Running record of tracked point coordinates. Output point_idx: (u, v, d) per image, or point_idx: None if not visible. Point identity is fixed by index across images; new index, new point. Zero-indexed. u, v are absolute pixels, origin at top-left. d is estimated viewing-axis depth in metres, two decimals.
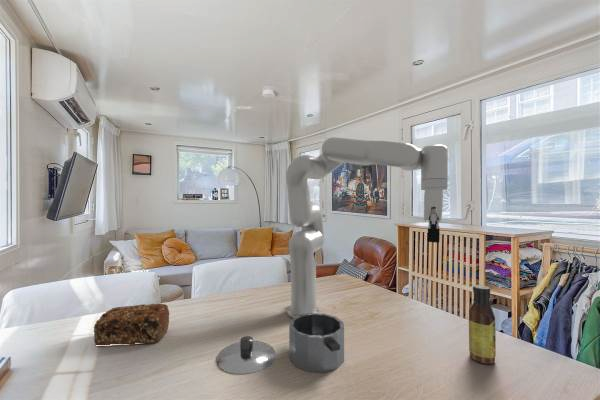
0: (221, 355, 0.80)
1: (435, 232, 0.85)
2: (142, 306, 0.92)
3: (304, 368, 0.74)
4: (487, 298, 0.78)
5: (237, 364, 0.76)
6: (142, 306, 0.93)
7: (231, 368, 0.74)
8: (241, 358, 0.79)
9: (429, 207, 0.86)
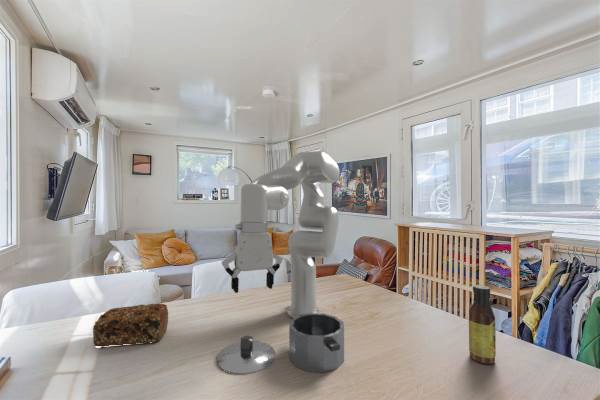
0: (221, 355, 0.80)
1: None
2: (141, 306, 0.92)
3: (304, 368, 0.74)
4: (487, 298, 0.78)
5: (237, 363, 0.76)
6: (141, 306, 0.92)
7: (231, 368, 0.74)
8: (241, 358, 0.79)
9: None
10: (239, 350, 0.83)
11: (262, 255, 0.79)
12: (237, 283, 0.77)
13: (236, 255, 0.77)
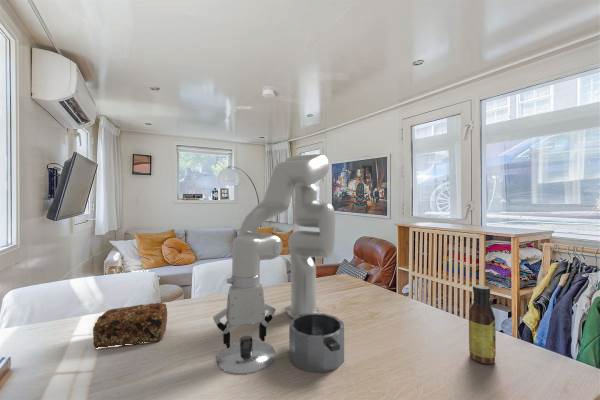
0: (221, 356, 0.80)
1: None
2: (141, 306, 0.92)
3: (304, 368, 0.74)
4: (487, 298, 0.78)
5: (238, 364, 0.76)
6: (141, 306, 0.92)
7: (232, 368, 0.74)
8: (241, 358, 0.79)
9: None
10: (239, 350, 0.83)
11: (254, 309, 0.78)
12: (229, 338, 0.77)
13: (227, 310, 0.77)
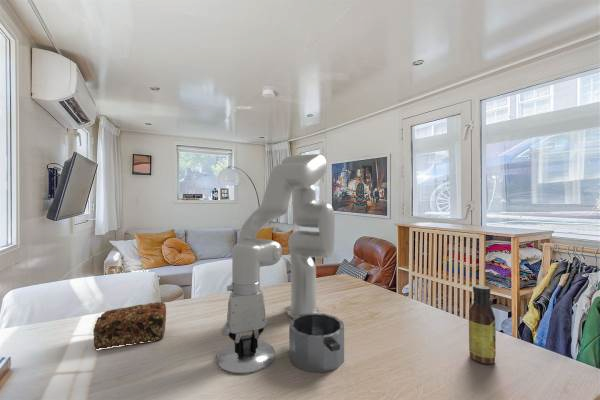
0: (220, 355, 0.80)
1: None
2: (140, 306, 0.92)
3: (304, 368, 0.74)
4: (487, 298, 0.78)
5: (238, 363, 0.76)
6: (140, 306, 0.93)
7: (232, 367, 0.74)
8: (241, 357, 0.79)
9: None
10: None
11: (254, 316, 0.78)
12: (240, 348, 0.78)
13: (228, 317, 0.77)
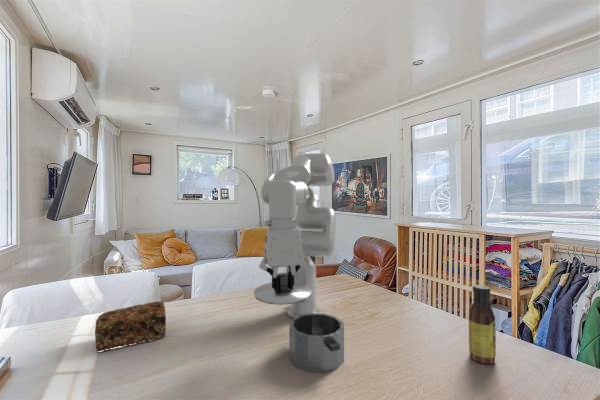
0: (257, 291, 0.80)
1: None
2: (139, 306, 0.93)
3: (304, 368, 0.74)
4: (487, 298, 0.78)
5: (276, 296, 0.76)
6: (139, 306, 0.93)
7: (271, 299, 0.74)
8: (279, 292, 0.79)
9: None
10: None
11: (292, 251, 0.78)
12: (278, 283, 0.78)
13: (266, 252, 0.77)
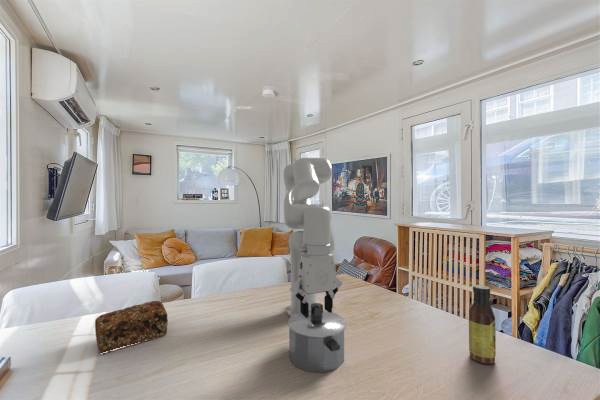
0: (291, 322, 0.80)
1: None
2: (138, 306, 0.93)
3: (304, 368, 0.74)
4: (487, 298, 0.78)
5: (313, 328, 0.76)
6: (138, 306, 0.93)
7: (309, 332, 0.74)
8: (313, 324, 0.79)
9: None
10: (307, 318, 0.83)
11: (327, 277, 0.78)
12: (307, 308, 0.78)
13: (302, 278, 0.77)
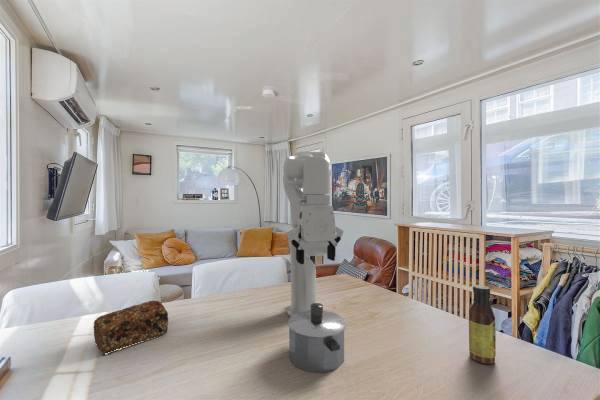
0: (291, 322, 0.80)
1: None
2: (137, 306, 0.93)
3: (304, 368, 0.74)
4: (487, 298, 0.78)
5: (313, 328, 0.76)
6: (137, 306, 0.93)
7: (309, 332, 0.74)
8: (313, 324, 0.79)
9: None
10: (307, 318, 0.83)
11: (326, 227, 0.79)
12: (303, 255, 0.78)
13: (301, 227, 0.78)
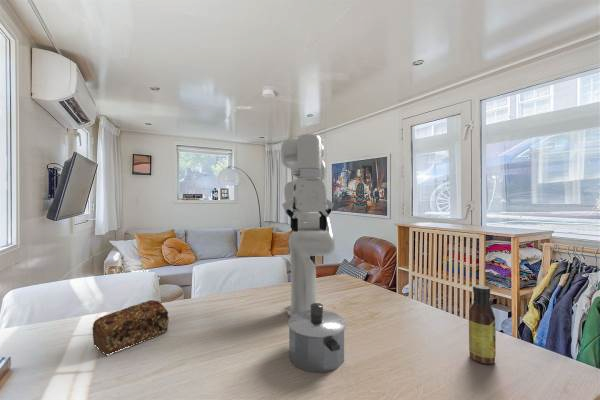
0: (291, 322, 0.80)
1: None
2: (136, 306, 0.92)
3: (304, 368, 0.74)
4: (487, 298, 0.78)
5: (313, 328, 0.76)
6: (136, 306, 0.92)
7: (309, 332, 0.74)
8: (313, 324, 0.79)
9: None
10: (307, 318, 0.83)
11: (318, 198, 0.87)
12: (297, 223, 0.86)
13: (295, 198, 0.86)
